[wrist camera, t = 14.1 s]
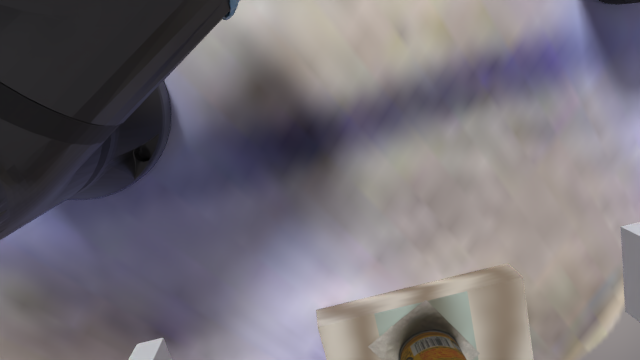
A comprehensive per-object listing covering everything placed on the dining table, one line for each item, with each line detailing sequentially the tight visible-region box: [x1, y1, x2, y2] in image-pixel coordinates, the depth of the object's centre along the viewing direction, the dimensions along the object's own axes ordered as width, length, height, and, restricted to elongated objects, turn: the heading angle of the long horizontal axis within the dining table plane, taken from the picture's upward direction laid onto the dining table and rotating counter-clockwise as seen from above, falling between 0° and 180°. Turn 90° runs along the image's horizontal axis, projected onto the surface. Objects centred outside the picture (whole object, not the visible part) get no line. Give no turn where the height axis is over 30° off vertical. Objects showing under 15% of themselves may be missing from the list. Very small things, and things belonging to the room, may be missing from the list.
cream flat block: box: [316, 264, 533, 360], centre depth 43 cm, size 20×12×6 cm, turn 103°
